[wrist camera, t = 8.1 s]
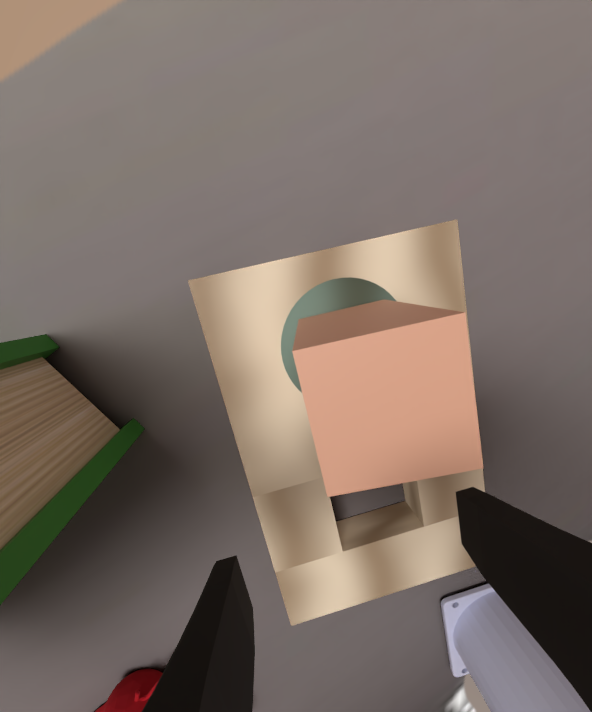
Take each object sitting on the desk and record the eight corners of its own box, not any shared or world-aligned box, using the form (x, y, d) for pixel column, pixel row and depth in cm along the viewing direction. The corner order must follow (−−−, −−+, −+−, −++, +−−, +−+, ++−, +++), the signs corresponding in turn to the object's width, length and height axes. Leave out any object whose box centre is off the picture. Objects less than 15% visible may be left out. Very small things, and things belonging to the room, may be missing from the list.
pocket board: (430, 229, 18) (458, 219, 16) (467, 533, 23) (492, 562, 21) (197, 282, 17) (187, 280, 15) (287, 589, 22) (291, 627, 20)
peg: (384, 299, 15) (465, 312, 8) (398, 381, 16) (483, 468, 8) (298, 319, 16) (292, 351, 8) (317, 398, 17) (327, 497, 9)
